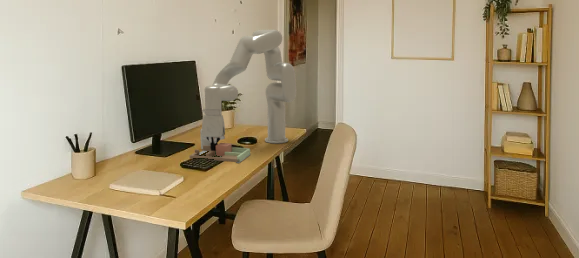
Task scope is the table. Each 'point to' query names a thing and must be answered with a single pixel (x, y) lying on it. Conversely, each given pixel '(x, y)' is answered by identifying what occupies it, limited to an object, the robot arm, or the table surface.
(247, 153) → the tray
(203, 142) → the small box
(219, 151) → the block
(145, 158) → the table surface
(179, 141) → the table surface
